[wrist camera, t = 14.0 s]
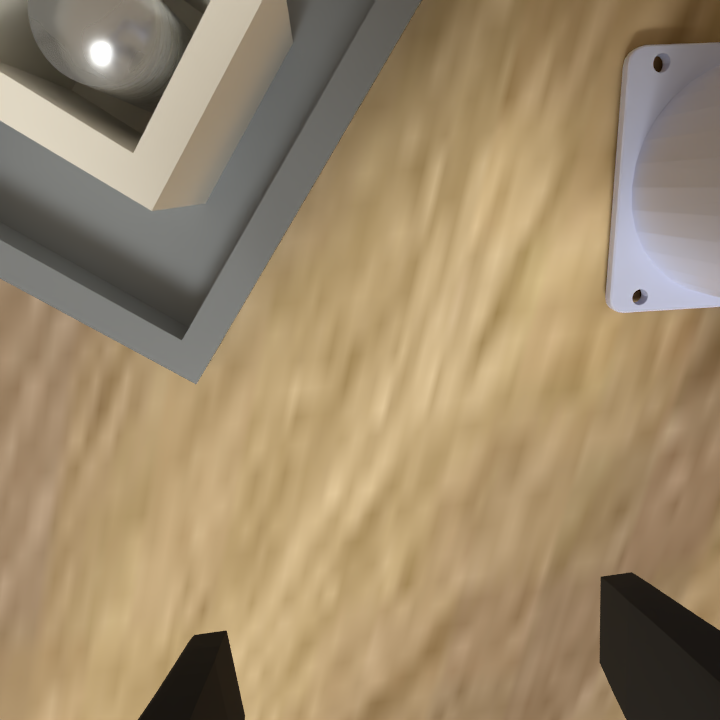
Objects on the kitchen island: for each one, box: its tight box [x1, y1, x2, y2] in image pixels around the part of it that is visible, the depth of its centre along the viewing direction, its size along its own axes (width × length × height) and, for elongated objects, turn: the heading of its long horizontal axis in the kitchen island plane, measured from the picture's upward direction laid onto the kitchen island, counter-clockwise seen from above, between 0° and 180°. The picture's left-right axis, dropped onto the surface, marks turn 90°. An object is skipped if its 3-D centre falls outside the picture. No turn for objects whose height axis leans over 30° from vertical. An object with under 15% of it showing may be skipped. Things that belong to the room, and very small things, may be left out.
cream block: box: [0, 0, 293, 211], centre depth 14 cm, size 5×5×6 cm
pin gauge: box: [28, 0, 193, 113], centre depth 14 cm, size 2×2×5 cm
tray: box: [0, 0, 422, 384], centre depth 16 cm, size 14×10×2 cm
